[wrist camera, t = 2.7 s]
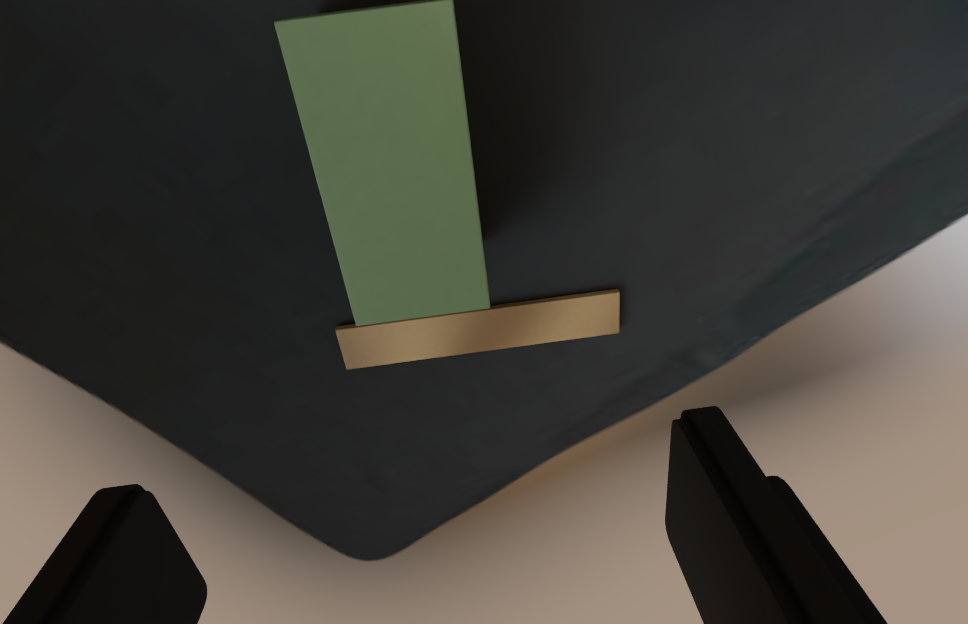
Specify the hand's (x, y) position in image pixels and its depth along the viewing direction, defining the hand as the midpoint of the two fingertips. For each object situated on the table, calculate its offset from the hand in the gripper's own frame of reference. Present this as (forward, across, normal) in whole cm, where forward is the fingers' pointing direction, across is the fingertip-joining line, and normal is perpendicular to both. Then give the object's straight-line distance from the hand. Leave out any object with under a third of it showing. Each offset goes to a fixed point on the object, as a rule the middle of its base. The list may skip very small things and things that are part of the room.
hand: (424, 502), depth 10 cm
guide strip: (+17, -1, +7) cm, 18 cm away
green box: (+16, +1, -3) cm, 17 cm away
